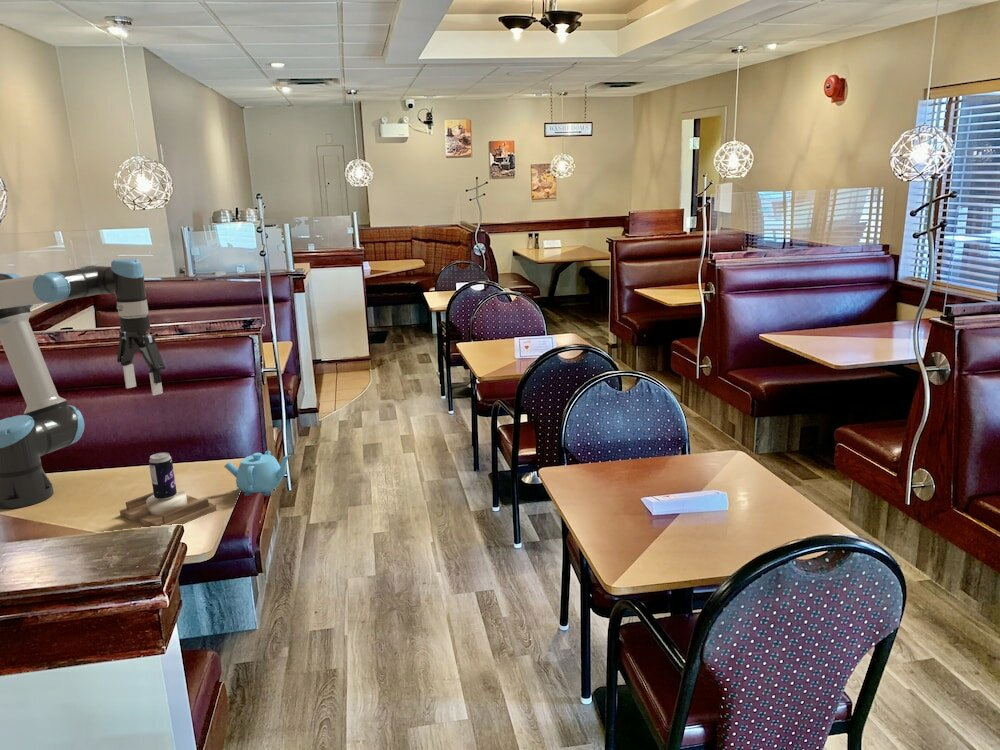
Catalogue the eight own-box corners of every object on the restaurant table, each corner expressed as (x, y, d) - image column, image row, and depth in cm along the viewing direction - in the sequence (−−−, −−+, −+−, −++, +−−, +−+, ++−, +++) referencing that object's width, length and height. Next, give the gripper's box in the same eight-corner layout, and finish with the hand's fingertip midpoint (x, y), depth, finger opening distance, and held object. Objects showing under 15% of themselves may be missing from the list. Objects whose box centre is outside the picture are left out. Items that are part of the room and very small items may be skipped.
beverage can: (168, 502, 206) (162, 459, 203) (150, 500, 207) (143, 458, 204) (181, 493, 212) (175, 452, 209) (163, 492, 213) (156, 451, 210)
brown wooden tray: (120, 515, 210) (117, 500, 209) (173, 495, 222) (171, 480, 221) (163, 532, 199) (160, 516, 197) (216, 510, 211) (214, 494, 210)
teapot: (277, 477, 234) (273, 441, 231) (295, 490, 223) (291, 453, 220) (226, 490, 225) (221, 453, 222) (243, 504, 214) (238, 466, 212)
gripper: (97, 314, 216) (108, 387, 221) (145, 322, 202) (156, 400, 207) (123, 310, 222) (133, 381, 227) (172, 317, 208) (181, 394, 213)
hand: (144, 390), depth 217 cm, fingers open, 13 cm apart
